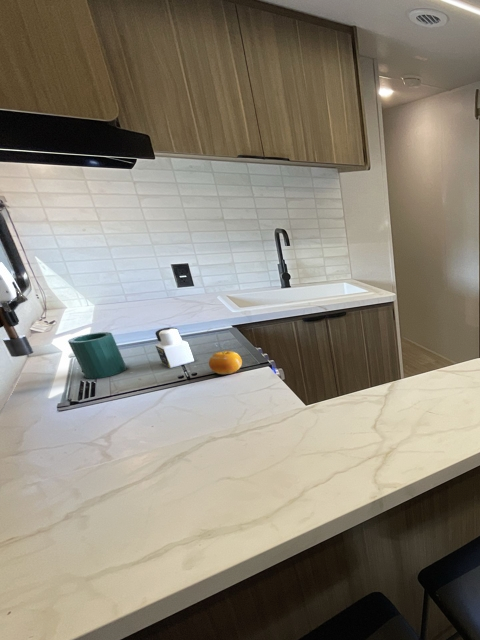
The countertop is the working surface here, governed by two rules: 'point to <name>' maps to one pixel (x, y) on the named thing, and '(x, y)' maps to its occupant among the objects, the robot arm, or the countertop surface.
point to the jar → (97, 355)
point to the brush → (14, 339)
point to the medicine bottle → (172, 348)
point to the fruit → (225, 362)
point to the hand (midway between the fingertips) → (8, 325)
